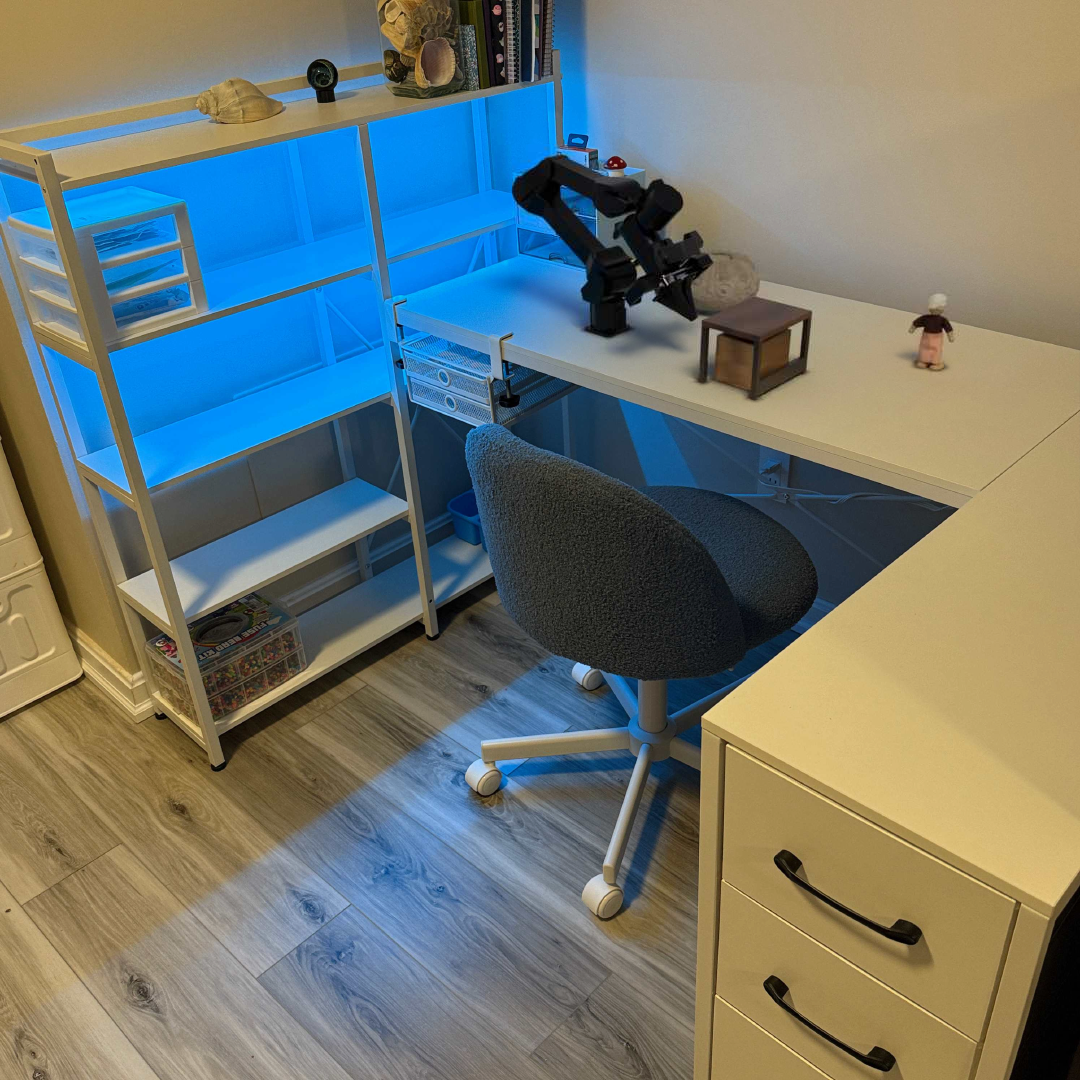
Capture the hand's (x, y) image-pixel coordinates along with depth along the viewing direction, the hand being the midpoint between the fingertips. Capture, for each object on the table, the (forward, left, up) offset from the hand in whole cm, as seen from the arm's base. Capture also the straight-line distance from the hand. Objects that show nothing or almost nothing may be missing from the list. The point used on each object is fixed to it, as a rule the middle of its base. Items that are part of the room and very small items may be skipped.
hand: (694, 319), depth 183 cm
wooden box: (+12, 0, -7) cm, 14 cm away
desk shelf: (+13, 0, -7) cm, 15 cm away
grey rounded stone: (-14, +25, -7) cm, 30 cm away
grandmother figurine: (+33, +23, -7) cm, 41 cm away
